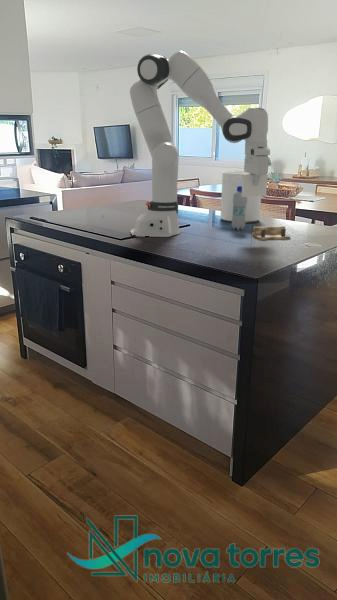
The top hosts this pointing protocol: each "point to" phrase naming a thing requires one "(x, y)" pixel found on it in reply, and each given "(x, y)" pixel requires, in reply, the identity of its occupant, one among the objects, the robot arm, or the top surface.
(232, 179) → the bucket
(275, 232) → the tan pegged board
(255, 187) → the white rectangular block
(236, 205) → the bottle
